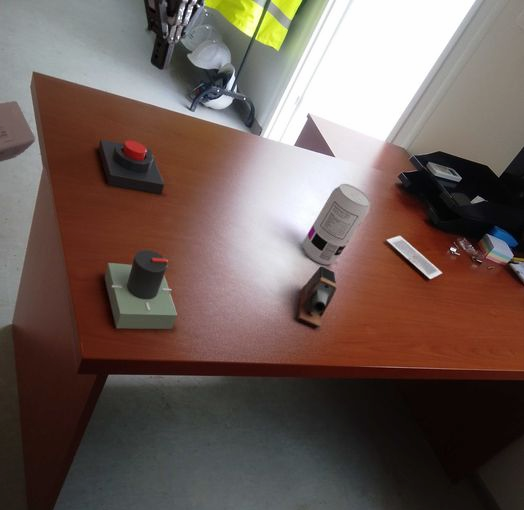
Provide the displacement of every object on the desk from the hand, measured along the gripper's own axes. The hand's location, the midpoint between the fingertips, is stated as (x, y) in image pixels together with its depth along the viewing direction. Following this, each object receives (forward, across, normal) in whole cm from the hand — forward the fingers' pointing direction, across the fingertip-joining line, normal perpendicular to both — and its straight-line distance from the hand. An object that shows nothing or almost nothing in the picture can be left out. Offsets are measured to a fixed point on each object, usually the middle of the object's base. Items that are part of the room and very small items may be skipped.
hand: (158, 66), depth 67 cm
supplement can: (+23, +23, -34) cm, 47 cm away
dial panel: (+23, -20, -16) cm, 35 cm away
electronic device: (+23, +2, -39) cm, 45 cm away
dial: (+20, -20, -16) cm, 33 cm away
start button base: (+23, +9, +5) cm, 26 cm away
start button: (+20, +9, +5) cm, 22 cm away
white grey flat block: (+22, +47, -55) cm, 76 cm away
